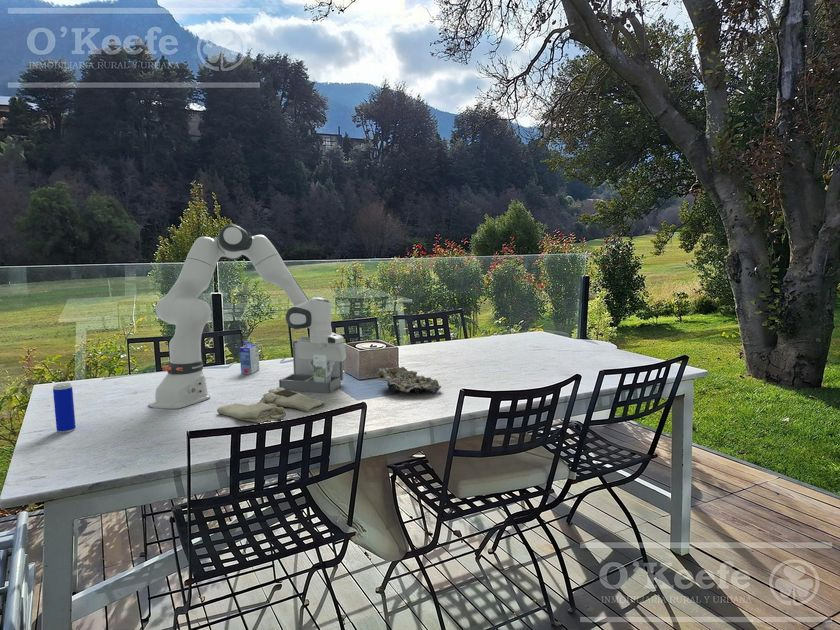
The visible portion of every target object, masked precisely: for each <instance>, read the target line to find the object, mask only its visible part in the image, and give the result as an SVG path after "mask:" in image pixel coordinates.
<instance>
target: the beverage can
mask: <svg viewBox="0 0 840 630" xmlns="http://www.w3.org/2000/svg"><path fill="white" fill-rule="evenodd" d="M52 394H53V404H54V417H55V426H56V427H55V428H56V431H57V432H58V433H61V434H62V433H70V432H73V431H75V430H76V416H75V405H74V392H73V385H72V383H70V382H62V383H56V384H54V385H53V388H52Z"/></svg>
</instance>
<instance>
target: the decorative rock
mask: <svg viewBox="0 0 840 630" xmlns="http://www.w3.org/2000/svg"><path fill="white" fill-rule="evenodd" d="M377 370H378V371H377V377H378V380H379V381H380V382H381V381H383V382H384V381H385V382H387V384H386V385H387V387H388V388H389V389H390V390H391V391H392V392H396V391H397V390H399V391H401V392H404V393H409V392H410V391H412V390H413V389H414V392H415V393H417V394H418V393H420V392H422V391H424V390H427V391H429V392H430V393H431V394H434V393H438V392H439V391H440V390H441V388H442V386H441V385H439V381H438V380H437V379H435V378H434V379H432V377H425V376H424V375H418V372H417V371H415V370H408V369H406V368H405V367H404V366H401V367H399V366H398V365H395V366H391V367H384V368H383V367H379V368H378V369H377Z"/></svg>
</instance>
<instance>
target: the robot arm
mask: <svg viewBox="0 0 840 630" xmlns="http://www.w3.org/2000/svg"><path fill="white" fill-rule="evenodd" d="M243 256H244V257H246V258H248V259H249V260H250V262H251V264H252V265H253V267H254V269H255V271H256V273H257V274H258V275H259V277H261V279H262V280H263V281H264V282H266V283H269V284H272V285H275V286H277V287H279V289H281V290H283V292H284V293H285V295H286V296H287V297H288V298H289V300H290V301H291V303H292V304H293V306H292V307H290V308H289V309H287V311H286V313H285V322H286V324H287V325H288V327H290V329H293V330H303V329H306V328H308V329H309V336H300V337H299V338H297V339H296V340H297V345H298V349H297V357H298V359H302V360H308V363H309V365H310V366H311V371H313V354H315V355H326V356H327V361H330V364H331V365H330V367H328V368H327V369H328V370H327V371H328V372H332V367H333V365H334V364H335V361H338V362H342V361H343V362H344V361H345V360H346V359H347V351H346V349H347V348H346V345H345V342H344V338H345V337H344V336H343V335H340V334H337V333H335V332H333V328H332V320H333V318H332V316H333V315H332V306H331V302H330V301H329V299H327V298H326V297H321V296H312V297H310V299H309V297H307V295H306V294H305V292H304V290H303V289H302V288H301V286H300V284H299V283H298V282H297V280H296V279H295V277H294V276H293V275H292V273H291V272H290V271H289V269H288V267H287V265H286V263H285V262H284V260H283V259H282V257H281V255H280V254H279V252H278V250H277V249H276V247H275V246H274V244H273V243H272V242H271V241H270V240H269V239H268V237H267V236H265V235H264V234H256V235H252V234H251V232H249V231H247V230H245V229H244V228H242V227H241V226H239V225H237V224H232V223H230V224H226V225H225V226H223V227H222V228H221V229H220V230H219V231H218V235H217V237H209V236H199V237H197V239H195V241H194V243H193V244H192V245H191V247H190V250H189V251H188V253H187V256H186V259H185V260H184V262H183V266H182V268H181V271H180V273H179V276H178V278H177V279H176V281H175V283H174V284H173V285H172V287H171V288H170V290H169V291H168V292H167V293H166V294H165V296H164V297H161V299H159V300H158V301H157V302H156V305H155V314H156V316H157V318H159V319H160V320H161V321H163V322H165V323H167V324H169V325H174V326H175V329H174V335H173V336H172V338H171V339H170V341H169V343H168V346H169V348H168V349H169V363H168V365H163V366H162V371H163V372H167V374H166V375H165V377H164V378H163V379H162V381H161V382H160V383H159V384H158V386H157V387H156V389H155V395H154V397H155V398H154V399H153V400H151V401H150V402H148V407H151V408H156V409H166V410H167V409H170V410H171V409H182V408H184V407H187V406H191V405H193V404H194V405H195V404H197V403H199V402H203V401H207V400H209V399H211V396H210V394H209V392H208V387H207V386H208V385H207V380H206V377H205V375H204V371H203V369H204V362H203V359H202V348H201V347H202V346H201V345H202V344H201V343H202V335H203V331H204V328H205V326H206V324H207V323H208V322H209V321H210V319H211V317H212V309H211V306H210V304H209V303H208V302H207V301H205V300H203V299H200V298H199V297H200V295H201V294H202V293H203V292H204V291H206V290H207V289H208V288H209V286H210V284H211V281H212V278H213V275H214V274H215V269H216V267H217V265H218V264H217V263H218V262H219V260H229V261H230V260H231V261H233V260H234V261H235V260H238V259H241V258H242V257H243Z"/></svg>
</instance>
